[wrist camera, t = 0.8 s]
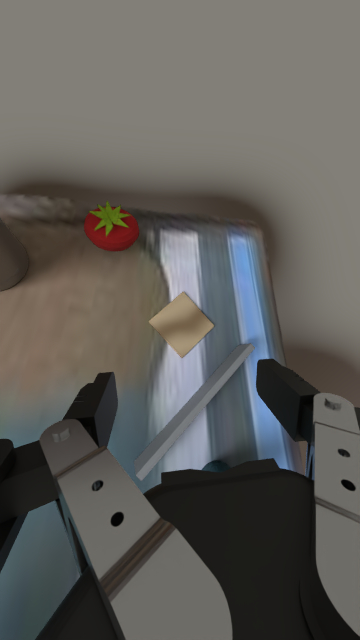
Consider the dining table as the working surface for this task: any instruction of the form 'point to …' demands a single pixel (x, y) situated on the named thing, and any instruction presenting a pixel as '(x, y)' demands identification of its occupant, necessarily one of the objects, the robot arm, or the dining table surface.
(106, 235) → the strawberry
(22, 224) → the dining table surface
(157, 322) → the coaster
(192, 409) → the acrylic wall
